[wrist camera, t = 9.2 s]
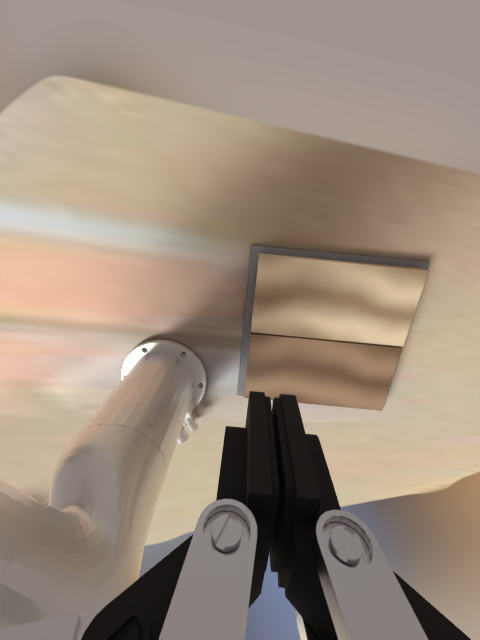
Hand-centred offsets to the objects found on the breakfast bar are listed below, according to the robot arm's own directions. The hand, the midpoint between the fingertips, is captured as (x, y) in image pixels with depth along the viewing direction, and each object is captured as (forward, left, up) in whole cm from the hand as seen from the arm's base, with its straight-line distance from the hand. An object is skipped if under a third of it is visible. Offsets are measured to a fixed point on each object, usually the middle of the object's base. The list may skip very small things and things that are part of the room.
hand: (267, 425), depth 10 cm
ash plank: (-6, -8, -26) cm, 28 cm away
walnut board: (-15, -3, -27) cm, 31 cm away
